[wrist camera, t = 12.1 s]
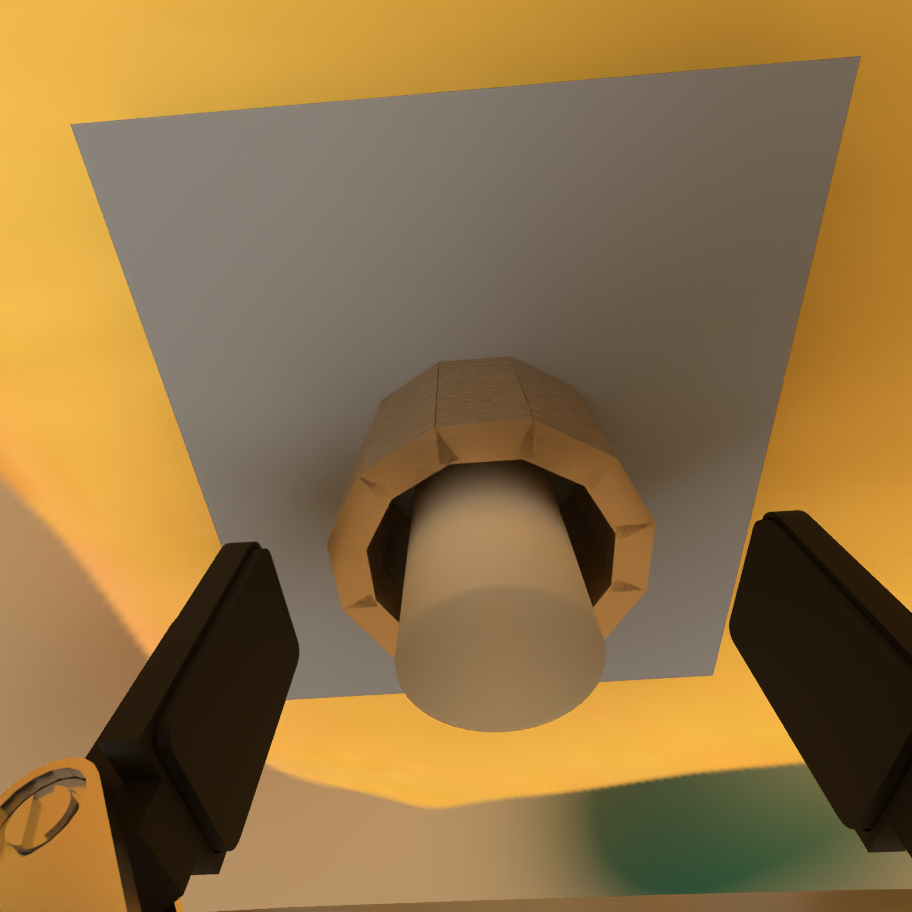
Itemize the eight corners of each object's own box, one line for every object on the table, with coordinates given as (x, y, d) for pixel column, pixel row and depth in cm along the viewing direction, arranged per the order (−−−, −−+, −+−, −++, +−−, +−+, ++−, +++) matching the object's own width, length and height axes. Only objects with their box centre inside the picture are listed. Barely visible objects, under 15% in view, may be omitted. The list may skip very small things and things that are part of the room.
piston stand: (125, 133, 12) (-393, 46, 5) (799, 75, 12) (1406, -120, 4) (291, 656, 21) (200, 925, 13) (689, 632, 20) (831, 895, 13)
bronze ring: (341, 368, 13) (300, 436, 9) (609, 348, 13) (671, 410, 9) (379, 574, 16) (359, 683, 13) (595, 561, 16) (636, 667, 12)
